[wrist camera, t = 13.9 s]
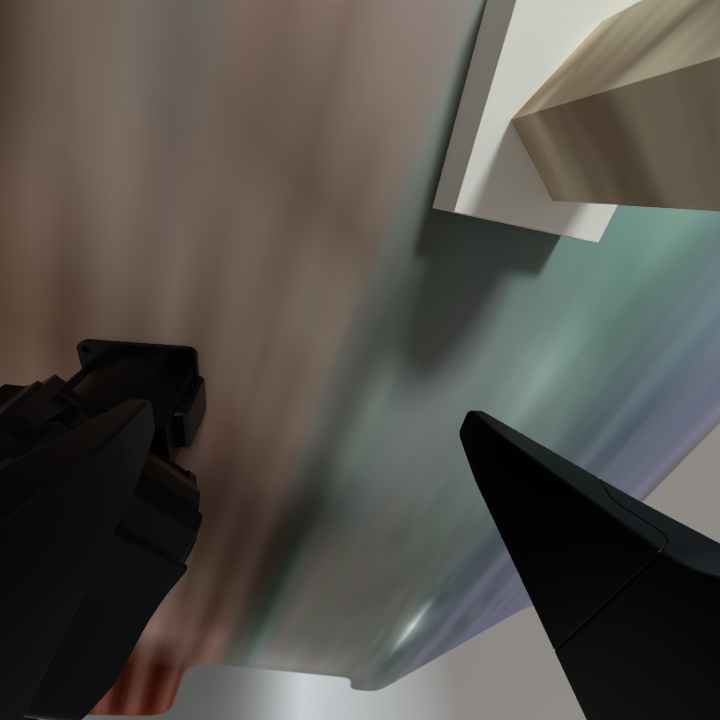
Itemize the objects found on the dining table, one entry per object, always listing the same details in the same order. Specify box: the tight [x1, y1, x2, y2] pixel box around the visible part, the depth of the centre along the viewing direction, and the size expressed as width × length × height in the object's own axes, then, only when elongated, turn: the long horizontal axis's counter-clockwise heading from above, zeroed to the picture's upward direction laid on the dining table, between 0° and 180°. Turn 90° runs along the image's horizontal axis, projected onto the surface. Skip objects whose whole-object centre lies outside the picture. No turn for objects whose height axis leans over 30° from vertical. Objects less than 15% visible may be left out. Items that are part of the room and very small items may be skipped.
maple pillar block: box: [511, 0, 720, 211], centre depth 10 cm, size 5×5×12 cm
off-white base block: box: [432, 0, 641, 242], centre depth 17 cm, size 10×10×3 cm
